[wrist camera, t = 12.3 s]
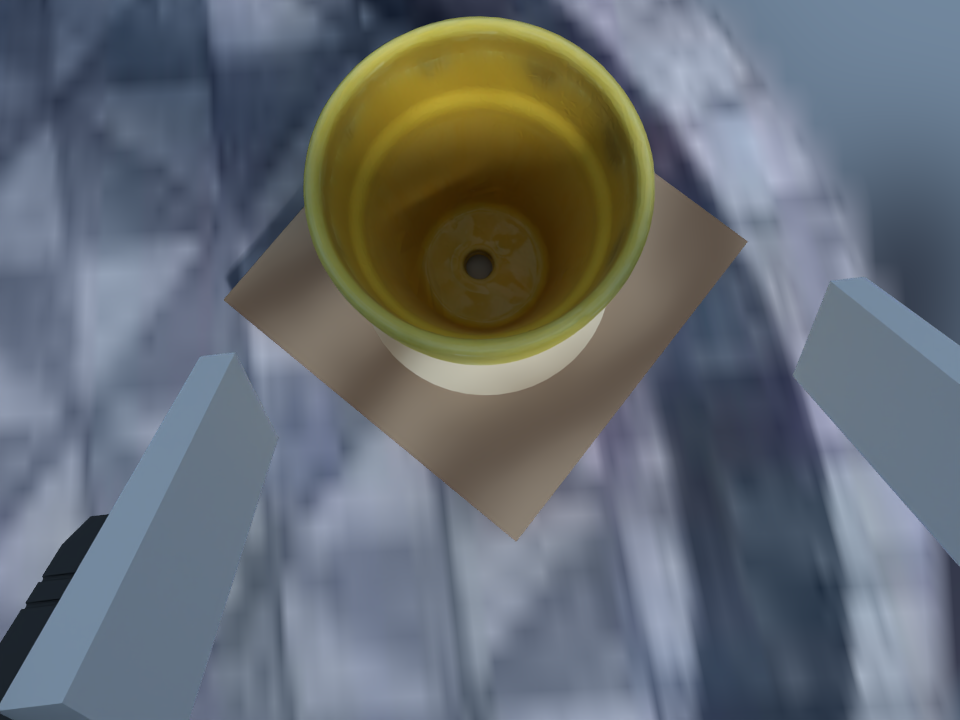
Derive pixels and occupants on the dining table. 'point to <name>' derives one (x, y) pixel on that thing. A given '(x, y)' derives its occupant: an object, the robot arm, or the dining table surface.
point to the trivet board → (493, 388)
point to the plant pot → (479, 189)
